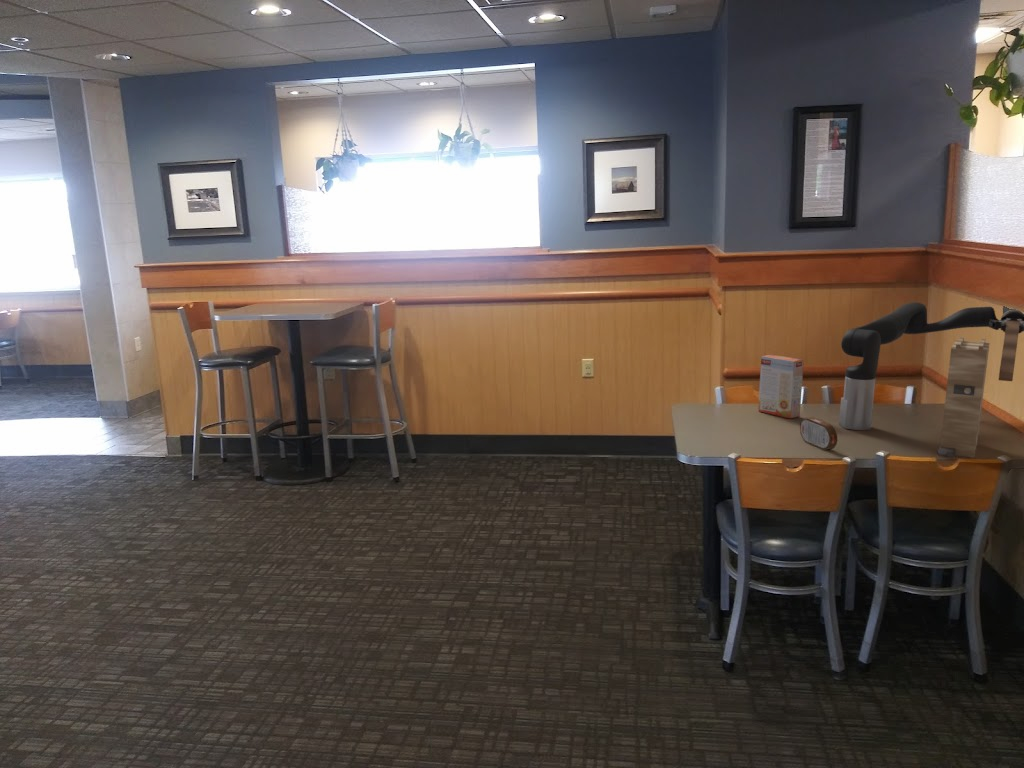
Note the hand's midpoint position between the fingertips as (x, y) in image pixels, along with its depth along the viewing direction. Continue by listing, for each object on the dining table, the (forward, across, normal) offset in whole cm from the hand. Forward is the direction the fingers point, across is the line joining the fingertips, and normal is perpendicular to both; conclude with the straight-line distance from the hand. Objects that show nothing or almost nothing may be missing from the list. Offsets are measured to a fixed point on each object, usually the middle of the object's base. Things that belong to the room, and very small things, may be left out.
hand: (1012, 328), depth 241 cm
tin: (+40, -47, +35) cm, 71 cm away
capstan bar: (+6, 0, +7) cm, 9 cm away
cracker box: (+6, -68, +35) cm, 77 cm away
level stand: (+23, -10, +35) cm, 43 cm away
